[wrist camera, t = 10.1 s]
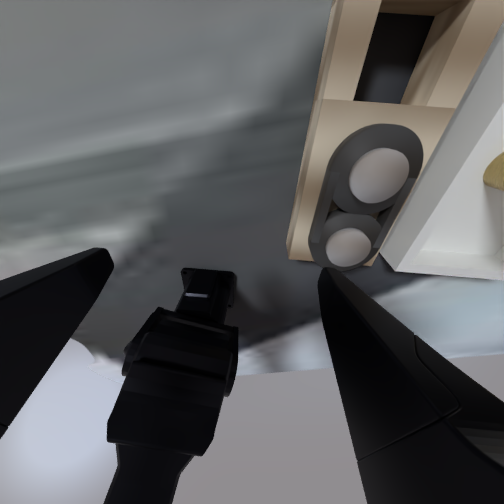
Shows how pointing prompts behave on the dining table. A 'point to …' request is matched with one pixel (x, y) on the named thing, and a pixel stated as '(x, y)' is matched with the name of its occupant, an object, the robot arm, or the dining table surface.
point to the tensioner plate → (418, 99)
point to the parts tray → (459, 189)
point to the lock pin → (495, 173)
